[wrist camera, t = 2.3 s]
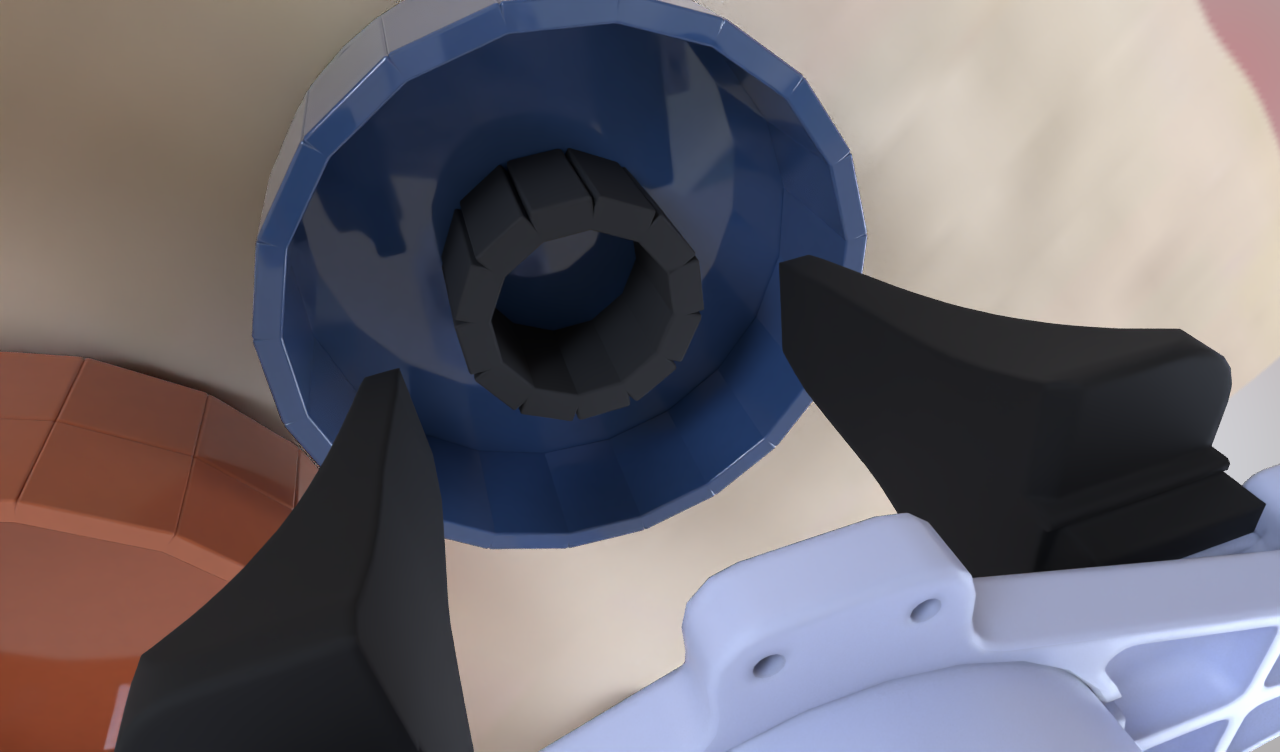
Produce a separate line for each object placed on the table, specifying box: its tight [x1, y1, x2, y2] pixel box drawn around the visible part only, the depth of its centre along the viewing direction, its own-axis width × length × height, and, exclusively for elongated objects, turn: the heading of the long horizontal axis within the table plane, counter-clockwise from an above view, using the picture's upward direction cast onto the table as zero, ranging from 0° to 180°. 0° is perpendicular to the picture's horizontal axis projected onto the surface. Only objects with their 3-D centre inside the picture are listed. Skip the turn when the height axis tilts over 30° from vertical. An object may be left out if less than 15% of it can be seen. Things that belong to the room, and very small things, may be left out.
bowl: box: [0, 351, 319, 752], centre depth 18 cm, size 15×15×5 cm
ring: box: [441, 148, 704, 421], centre depth 18 cm, size 5×5×3 cm
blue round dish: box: [252, 0, 867, 549], centre depth 18 cm, size 12×12×4 cm
